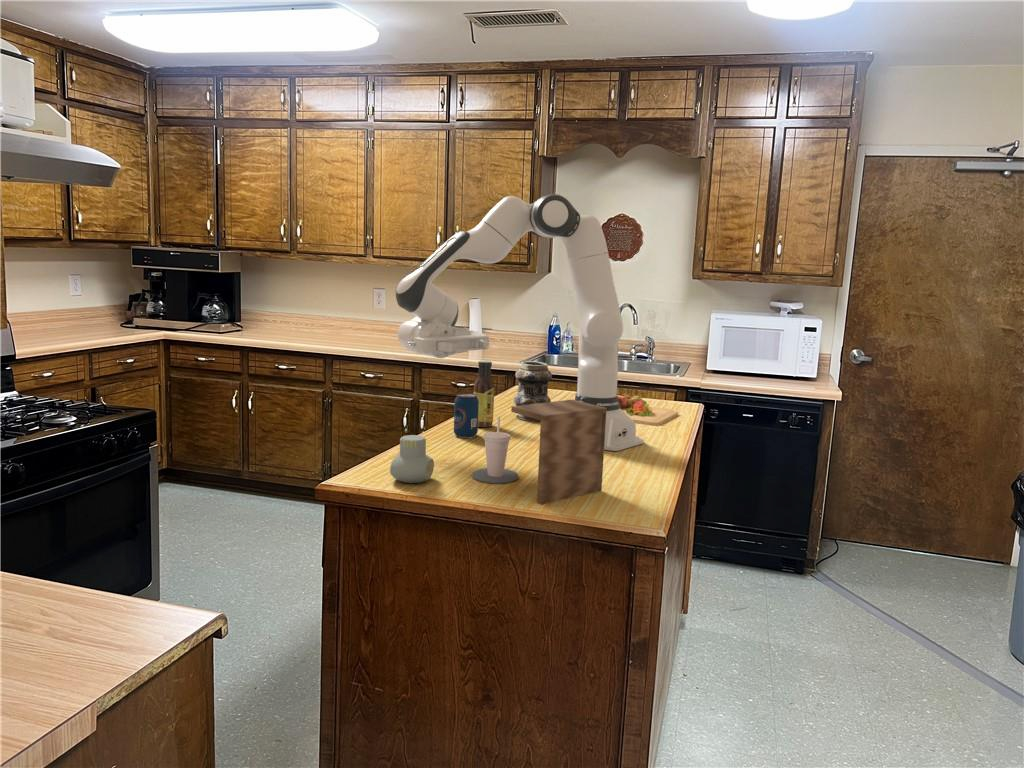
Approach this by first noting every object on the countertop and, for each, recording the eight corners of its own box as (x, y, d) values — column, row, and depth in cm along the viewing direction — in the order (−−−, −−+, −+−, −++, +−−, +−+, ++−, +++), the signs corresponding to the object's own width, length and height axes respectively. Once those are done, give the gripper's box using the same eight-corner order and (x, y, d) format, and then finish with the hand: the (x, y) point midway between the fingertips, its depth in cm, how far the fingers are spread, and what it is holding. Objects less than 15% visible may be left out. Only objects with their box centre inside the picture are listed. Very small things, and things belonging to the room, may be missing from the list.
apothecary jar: (557, 420, 253) (560, 364, 250) (527, 423, 246) (529, 366, 243) (535, 412, 263) (538, 359, 260) (505, 415, 256) (507, 361, 253)
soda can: (448, 434, 226) (449, 394, 224) (466, 431, 231) (468, 391, 229) (464, 439, 222) (465, 397, 220) (482, 436, 226) (484, 395, 224)
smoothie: (489, 479, 182) (491, 420, 179) (477, 472, 187) (479, 414, 185) (513, 476, 184) (516, 418, 182) (501, 469, 190) (504, 413, 188)
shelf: (568, 478, 187) (572, 399, 184) (601, 490, 178) (606, 408, 175) (508, 490, 176) (511, 406, 173) (540, 504, 167) (544, 415, 164)
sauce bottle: (490, 429, 236) (492, 363, 233) (470, 427, 237) (472, 362, 234) (495, 424, 242) (497, 360, 239) (475, 422, 244) (477, 359, 240)
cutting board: (678, 416, 270) (680, 394, 269) (657, 428, 250) (658, 405, 249) (585, 403, 287) (586, 383, 285) (557, 413, 266) (558, 391, 265)
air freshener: (422, 488, 175) (423, 444, 173) (387, 485, 176) (387, 441, 175) (435, 475, 186) (436, 434, 184) (402, 472, 187) (403, 431, 185)
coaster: (499, 468, 194) (499, 465, 194) (528, 479, 185) (528, 476, 185) (463, 474, 187) (463, 472, 187) (490, 486, 178) (490, 483, 178)
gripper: (404, 330, 198) (434, 335, 187) (470, 327, 210) (502, 332, 200) (404, 355, 199) (433, 361, 188) (470, 350, 211) (501, 356, 201)
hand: (469, 346), depth 194 cm, fingers open, 8 cm apart
